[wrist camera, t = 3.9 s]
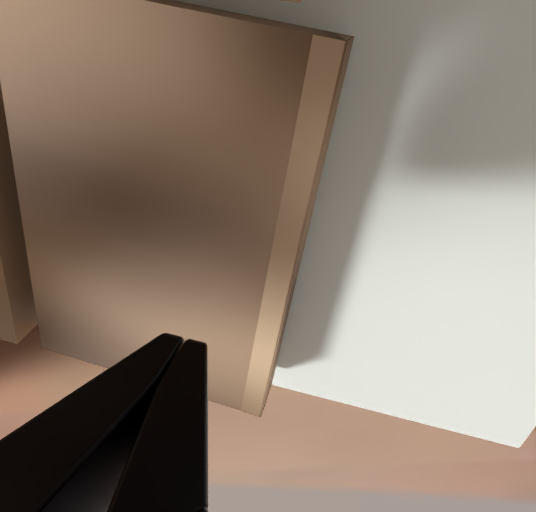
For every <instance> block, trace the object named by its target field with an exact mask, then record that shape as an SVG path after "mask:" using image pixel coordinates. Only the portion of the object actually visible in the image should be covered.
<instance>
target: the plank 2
mask: <svg viewBox="0 0 536 512" xmlns="http://www.w3.org/2000/svg"><path fill="white" fill-rule="evenodd" d="M282 1H289V2H297V3H301V1H302V0H282Z"/></svg>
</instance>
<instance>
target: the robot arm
mask: <svg viewBox="0 0 536 512" xmlns="http://www.w3.org/2000/svg"><path fill="white" fill-rule="evenodd" d="M207 509H208V348H207V344H206V343H205V342H201V341H197V340H193V339H187V340H186V341H184V338H183V337H181V336H177V335H173V334H169V333H162V334H160V335H159V336H157V337H156V338H154V339H153V340H151V341H150V342H148V343H147V344H145V345H144V346H142V347H141V348H139V349H138V350H136V351H135V352H133V353H131V354H130V355H128V356H127V357H125V358H124V359H122V360H121V361H119V362H118V363H116V364H115V365H113V366H112V367H110V368H109V369H107V370H106V371H104V372H103V373H101V374H100V375H98V376H97V377H95V378H94V379H92V380H90V381H89V382H87V383H86V384H84V385H83V386H81V387H80V388H78V389H77V390H75V391H74V392H72V393H71V394H69V395H68V396H66V397H65V398H63V399H62V400H60V401H59V402H57V403H56V404H54V405H53V406H51V407H50V408H48V409H46V410H45V411H43V412H42V413H40V414H39V415H37V416H36V417H34V418H33V419H31V420H30V421H28V422H27V423H25V424H24V425H22V426H21V427H19V428H18V429H16V430H15V431H13V432H12V433H10V434H9V435H7V436H6V437H4V438H2V439H1V440H0V512H208V510H207Z"/></svg>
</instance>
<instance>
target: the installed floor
mask: <svg viewBox="0 0 536 512" xmlns="http://www.w3.org/2000/svg"><path fill="white" fill-rule="evenodd" d="M175 1H180V2H185V3H190V4H195V5H200V6H205V7H210V8H215V9H220V10H225V11H230V12H235V13H240V14H245V15H250V16H255V17H260V18H265V19H270V20H275V21H280V22H285V23H290V24H295V25H300V26H305V27H310V28H315V29H320V30H325V31H330V32H335V33H340V34H345V35H350V36H354V40H353V44H352V48H351V52H350V57H349V61H348V65H347V69H346V74H345V78H344V82H343V86H342V90H341V95H340V99H339V103H338V107H337V111H336V116H335V120H334V124H333V128H332V133H331V137H330V141H329V145H328V149H327V154H326V158H325V162H324V166H323V170H322V175H321V179H320V183H319V187H318V192H317V196H316V200H315V204H314V208H313V213H312V217H311V221H310V225H309V230H308V234H307V238H306V242H305V246H304V251H303V255H302V259H301V263H300V267H299V272H298V276H297V280H296V284H295V289H294V293H293V297H292V301H291V305H290V310H289V314H288V318H287V322H286V327H285V331H284V335H283V339H282V343H281V348H280V352H279V356H278V360H277V364H276V369H275V373H274V377H273V381H272V385H275V386H279V387H283V388H287V389H290V390H294V391H298V392H302V393H306V394H310V395H314V396H318V397H322V398H325V399H329V400H333V401H337V402H341V403H345V404H349V405H353V406H357V407H360V408H364V409H368V410H372V411H376V412H380V413H384V414H388V415H392V416H396V417H399V418H403V419H407V420H411V421H415V422H419V423H423V424H427V425H431V426H434V427H438V428H442V429H446V430H450V431H454V432H458V433H462V434H466V435H469V436H473V437H477V438H481V439H485V440H489V441H493V442H497V443H501V444H504V445H508V446H512V447H516V448H520V446H521V445H522V444H523V442H524V441H525V440H526V438H527V437H528V436H529V434H530V433H531V432H532V430H533V429H534V428H535V426H536V0H302V1H301V3H297V2H289V1H282V0H175ZM37 324H38V322H37V316H36V309H35V303H34V296H33V290H32V283H31V277H30V270H29V264H28V257H27V251H26V244H25V238H24V231H23V225H22V218H21V212H20V205H19V199H18V192H17V186H16V179H15V173H14V166H13V160H12V153H11V147H10V141H9V134H8V128H7V121H6V115H5V108H4V102H3V95H2V89H1V82H0V340H3V341H7V342H11V343H15V344H18V343H19V342H20V341H21V340H22V339H23V338H24V337H25V336H26V335H27V334H28V333H29V332H30V331H31V330H32V329H33V328H34V327H35V326H36V325H37Z"/></svg>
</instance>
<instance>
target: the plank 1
mask: <svg viewBox="0 0 536 512" xmlns="http://www.w3.org/2000/svg"><path fill="white" fill-rule="evenodd" d="M353 40H354V36H350V35H345V34H340V33H335V32H330V31H325V30H320V29H315V28H310V27H305V26H300V25H295V24H290V23H285V22H280V21H275V20H270V19H265V18H260V17H255V16H250V15H245V14H240V13H235V12H230V11H225V10H220V9H215V8H210V7H205V6H200V5H195V4H190V3H185V2H180V1H175V0H0V82H1V89H2V95H3V102H4V108H5V115H6V121H7V128H8V134H9V141H10V147H11V153H12V160H13V166H14V173H15V179H16V186H17V192H18V199H19V205H20V212H21V218H22V225H23V231H24V238H25V244H26V251H27V257H28V264H29V270H30V277H31V283H32V290H33V296H34V303H35V309H36V316H37V322H38V329H39V335H40V342H41V347H42V348H45V349H48V350H51V351H54V352H58V353H61V354H64V355H67V356H70V357H73V358H77V359H80V360H83V361H86V362H89V363H92V364H95V365H99V366H102V367H105V368H108V369H109V368H110V367H112V366H113V365H115V364H116V363H118V362H119V361H121V360H122V359H124V358H125V357H127V356H128V355H130V354H131V353H133V352H135V351H136V350H138V349H139V348H141V347H142V346H144V345H145V344H147V343H148V342H150V341H151V340H153V339H154V338H156V337H157V336H159V335H160V334H162V333H169V334H173V335H177V336H181V337H183V338H184V341H186V340H187V339H193V340H197V341H201V342H205V343H206V344H207V348H208V400H209V401H212V402H215V403H218V404H222V405H225V406H228V407H231V408H234V409H237V410H241V411H242V412H245V413H248V414H251V415H255V416H258V417H261V416H262V413H263V410H264V406H265V403H266V400H267V397H268V394H269V391H270V388H271V385H272V381H273V377H274V373H275V369H276V364H277V360H278V356H279V352H280V348H281V343H282V339H283V335H284V331H285V327H286V322H287V318H288V314H289V310H290V305H291V301H292V297H293V293H294V289H295V284H296V280H297V276H298V272H299V267H300V263H301V259H302V255H303V251H304V246H305V242H306V238H307V234H308V230H309V225H310V221H311V217H312V213H313V208H314V204H315V200H316V196H317V192H318V187H319V183H320V179H321V175H322V170H323V166H324V162H325V158H326V154H327V149H328V145H329V141H330V137H331V133H332V128H333V124H334V120H335V116H336V111H337V107H338V103H339V99H340V95H341V90H342V86H343V82H344V78H345V74H346V69H347V65H348V61H349V57H350V52H351V48H352V44H353Z"/></svg>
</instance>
